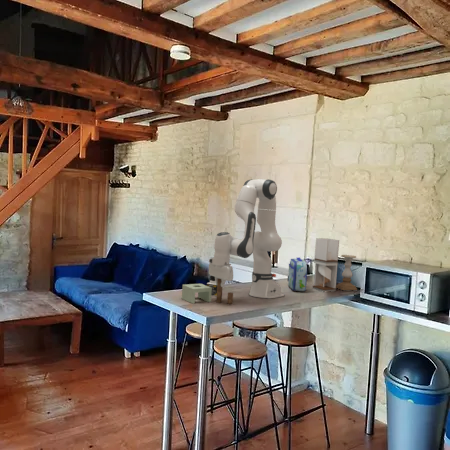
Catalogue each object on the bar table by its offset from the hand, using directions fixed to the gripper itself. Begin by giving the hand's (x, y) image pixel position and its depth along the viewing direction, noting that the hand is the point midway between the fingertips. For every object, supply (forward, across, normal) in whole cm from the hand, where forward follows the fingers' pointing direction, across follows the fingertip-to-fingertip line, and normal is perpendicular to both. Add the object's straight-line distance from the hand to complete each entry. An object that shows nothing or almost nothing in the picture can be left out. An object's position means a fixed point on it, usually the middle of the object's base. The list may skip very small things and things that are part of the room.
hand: (219, 286), depth 248 cm
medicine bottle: (+9, +18, -8) cm, 22 cm away
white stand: (+9, +8, -91) cm, 92 cm away
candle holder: (+10, +4, -109) cm, 109 cm away
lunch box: (+9, +16, -73) cm, 75 cm away
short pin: (+9, -5, -4) cm, 11 cm away
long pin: (+9, 0, 0) cm, 9 cm away
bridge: (+9, +8, +10) cm, 16 cm away
